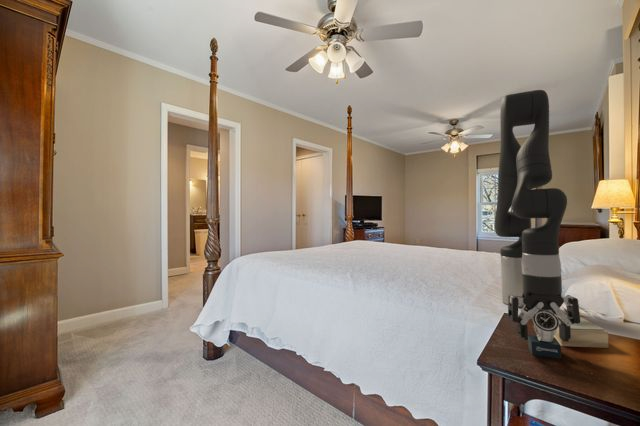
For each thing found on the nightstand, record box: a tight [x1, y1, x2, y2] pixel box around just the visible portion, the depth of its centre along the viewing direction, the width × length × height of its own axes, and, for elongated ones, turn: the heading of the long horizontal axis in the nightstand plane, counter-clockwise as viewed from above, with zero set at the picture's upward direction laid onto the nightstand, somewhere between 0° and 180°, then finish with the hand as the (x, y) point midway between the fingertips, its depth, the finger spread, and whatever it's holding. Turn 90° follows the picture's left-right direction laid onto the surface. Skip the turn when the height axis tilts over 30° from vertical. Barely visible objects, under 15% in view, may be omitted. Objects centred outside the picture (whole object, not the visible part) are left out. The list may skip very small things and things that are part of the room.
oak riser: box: [553, 315, 609, 349], centre depth 76 cm, size 10×10×4 cm
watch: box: [527, 310, 562, 360], centre depth 69 cm, size 6×8×11 cm
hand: (543, 339), depth 69 cm, fingers open, 8 cm apart
